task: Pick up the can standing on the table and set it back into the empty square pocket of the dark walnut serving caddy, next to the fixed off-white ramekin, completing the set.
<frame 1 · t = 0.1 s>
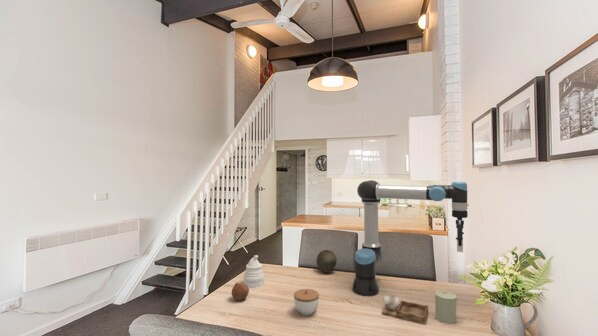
hand: (460, 248, 159), 28 cm above the table, fingers open, 13 cm apart
onion: (240, 299, 161), on the table
lidded bowl: (306, 312, 146), on the table
honey pot: (253, 284, 183), on the table
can: (445, 319, 139), on the table
caddy: (405, 313, 144), on the table
cantaloupe: (326, 272, 203), on the table
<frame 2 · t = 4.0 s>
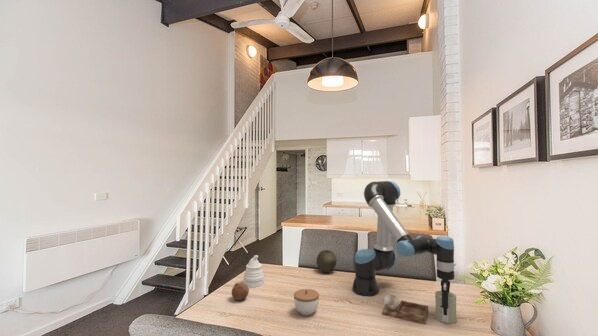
hand: (445, 316, 139), 1 cm above the table, fingers closed on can, 9 cm apart
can: (445, 318, 139), on the table, touching gripper
everything else where it was.
when the fingers open (4 cm above the table, at t = 9.5 s): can drops 2 cm, resting on caddy.
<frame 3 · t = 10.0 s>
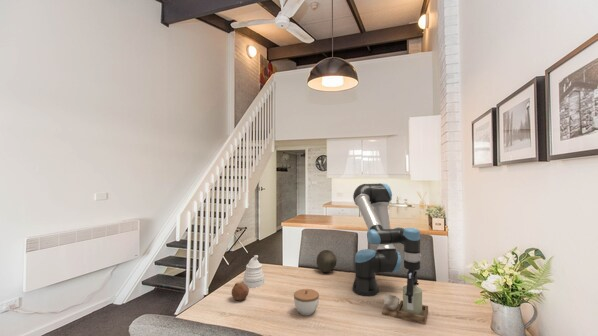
hand: (412, 303, 142), 6 cm above the table, fingers open, 13 cm apart
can: (412, 312, 142), point 1 cm above the table, touching caddy
everything else where it was.
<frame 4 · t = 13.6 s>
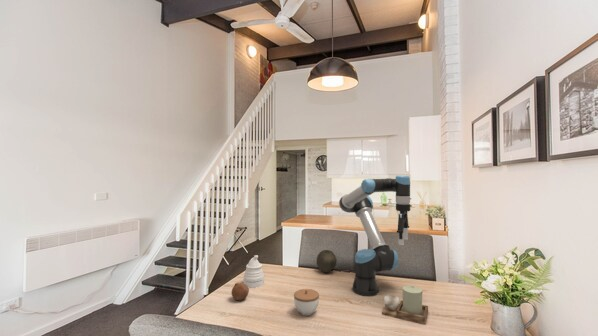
hand: (403, 242, 159), 32 cm above the table, fingers open, 13 cm apart
nothing on the table moved.
at the end: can 0.1 cm from the target spot on the caddy, point 1.0 cm above the caddy's base; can tilted 0°; the gripper is holding nothing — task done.
